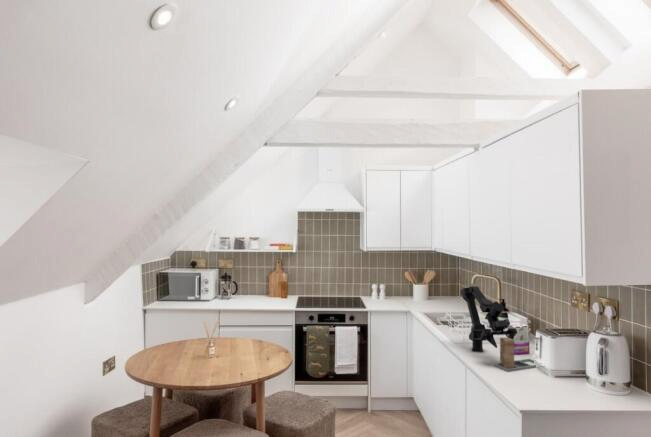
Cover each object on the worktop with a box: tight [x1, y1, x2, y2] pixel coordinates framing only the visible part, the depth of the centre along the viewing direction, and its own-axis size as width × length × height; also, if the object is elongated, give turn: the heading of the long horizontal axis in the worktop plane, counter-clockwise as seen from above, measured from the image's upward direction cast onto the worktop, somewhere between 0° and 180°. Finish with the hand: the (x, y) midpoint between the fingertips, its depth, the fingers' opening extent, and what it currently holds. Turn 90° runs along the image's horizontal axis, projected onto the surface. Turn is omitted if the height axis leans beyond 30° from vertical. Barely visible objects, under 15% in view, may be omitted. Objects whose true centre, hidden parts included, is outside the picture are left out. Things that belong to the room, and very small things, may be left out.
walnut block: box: [499, 337, 515, 369], centre depth 222 cm, size 5×5×15 cm
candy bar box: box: [507, 323, 531, 356], centre depth 249 cm, size 11×5×16 cm, turn 105°
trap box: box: [493, 358, 536, 373], centre depth 225 cm, size 25×10×2 cm, turn 111°
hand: (504, 347), depth 224 cm, fingers open, 9 cm apart
